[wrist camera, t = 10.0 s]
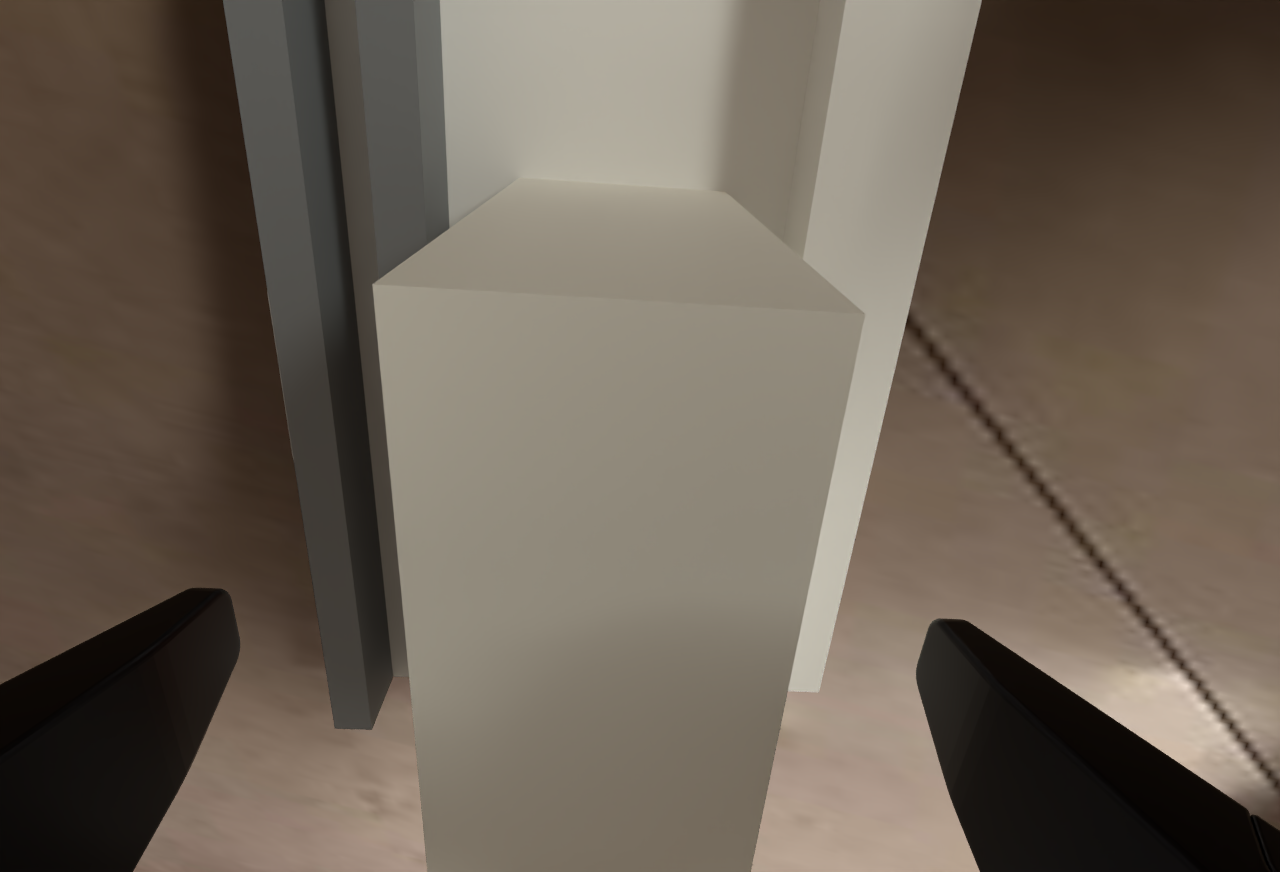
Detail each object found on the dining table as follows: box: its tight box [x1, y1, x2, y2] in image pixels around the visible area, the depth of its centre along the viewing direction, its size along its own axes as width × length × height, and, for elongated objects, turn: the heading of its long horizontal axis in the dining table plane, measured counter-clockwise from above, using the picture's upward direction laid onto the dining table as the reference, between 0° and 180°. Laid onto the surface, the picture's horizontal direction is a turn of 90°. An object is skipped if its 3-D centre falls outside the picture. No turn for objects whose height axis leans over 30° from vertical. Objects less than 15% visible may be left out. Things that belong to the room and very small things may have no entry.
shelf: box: [223, 0, 982, 730], centre depth 17 cm, size 20×14×4 cm
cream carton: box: [372, 178, 865, 872], centre depth 13 cm, size 5×9×10 cm, turn 176°
